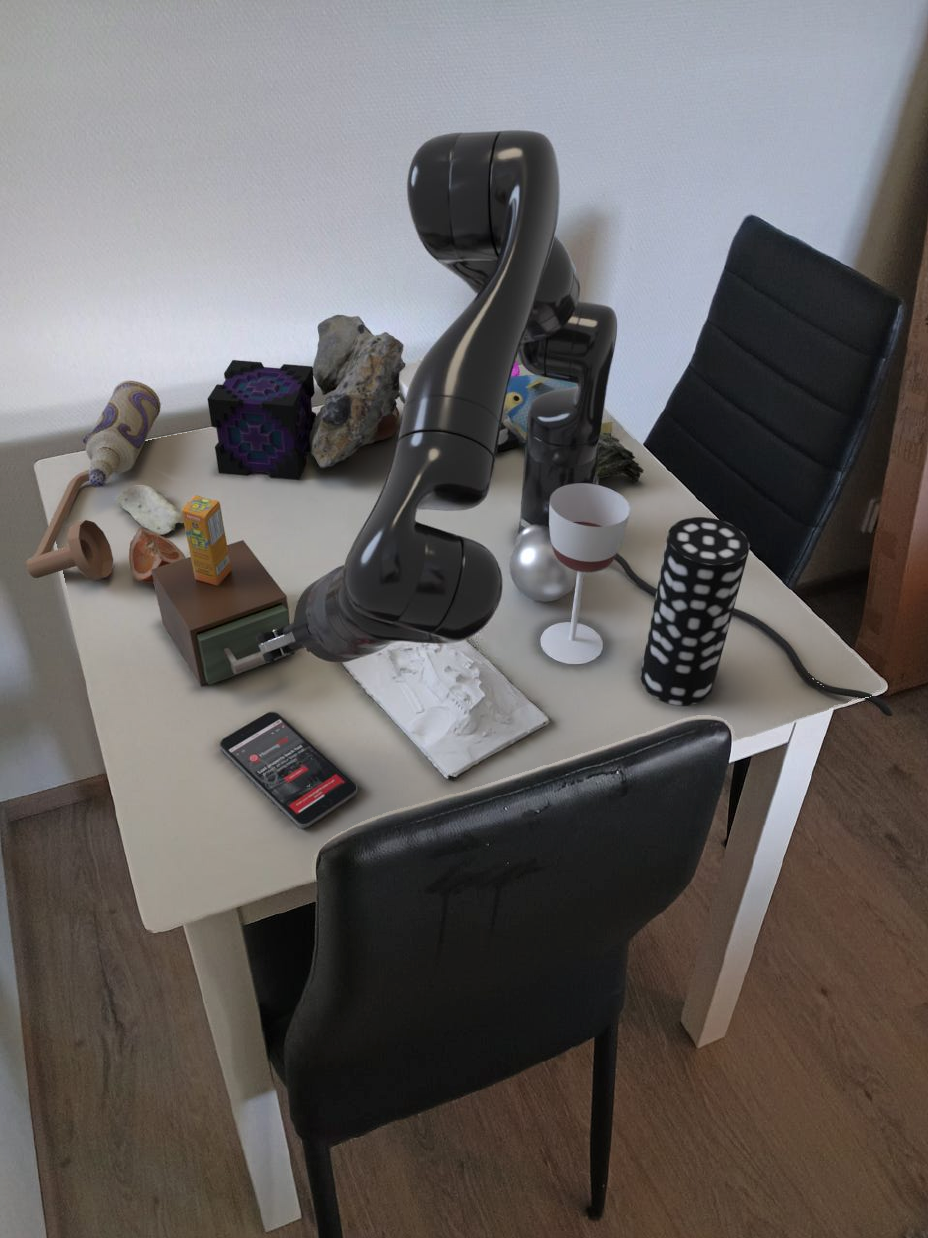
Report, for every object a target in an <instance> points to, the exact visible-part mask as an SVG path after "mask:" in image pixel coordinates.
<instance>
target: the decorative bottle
mask: <svg viewBox="0 0 928 1238" xmlns="http://www.w3.org/2000/svg"><path fill="white" fill-rule="evenodd" d="M161 405H162V403H161V401H160V398H159V395H158V394H157V393H156V391H155V390H153V388H151V387H150V386H149V385H147V384H145V383H143V382H140V381H136V380H124V381H121V382H119V384H117V385H116V386H115V388H114V389H113V392H112V395H111V397H110V398H109V400H108V402H107V403H106V406H105V408H104V409H103V411H102V412H101V415H99V417H98V419H97V421H96V422H95V424H94V425H93V427H92V429H91V431H90V433H88V434H86V435H85V438H82V442H83V444H85V452H86V455H87V457H88V459H89V460H90V468H89V469H88V470H89V481H88V482H89V484H90V486H93V487H96V488H98V487H104V485H106V482H107V481H109V479H110V477H111V476H112V475H113V474H122V473H126V472H128V471H130V469H131V470H132V468H133V467H134V465H135V464H136V461H137V459H138V456H139V455H140V453H141V450H142V448H143V446H144V444H145V442H146V440H147V439H148V438H149V437H148V436H149V433H150V431H151V430H152V427H153V425H154V422H155V421H156V419H157V418H158V417H159V415H160V413H161V408H162V407H161Z"/></svg>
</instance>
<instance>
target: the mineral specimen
mask: <svg viewBox="0 0 928 1238" xmlns="http://www.w3.org/2000/svg"><path fill="white" fill-rule="evenodd" d="M635 458H636V456H635V455H634V452H632V451H631V450H629V449H627V448H625V446H624V445H623V444H622V443H621V442H620V439H619V438H617V437H615V436H612V433H601V434H600V441H599V449H598V457H597V465H596V473H595V476H597V477H598V478H599V479H604V478H608V477H612V476H614V475H618V474H623V475H624V476H625V477H627V479H630V480H631V481H632V482H633V483H638V482H639V479H640V478H641V475H642V474H643V473H644V469H643V468H642V467H641V466H639V463H638V462H637V461H635V460H634V459H635Z"/></svg>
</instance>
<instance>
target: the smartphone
mask: <svg viewBox="0 0 928 1238" xmlns="http://www.w3.org/2000/svg"><path fill="white" fill-rule="evenodd" d="M219 749H220V750H221V752H223V753H224V754H225V755H226V756H227V757H228V758H229V760H231V761H232V762H233V763H234V764H235V765H236V766H237V767H238V768H239V769H240V770H241V771H242V772H243V773H244V774H246V776H247V777H248V778H249V779H250V780H251V781H252V782H253V783H254V784H255V785H256V786H257V787H258V788H259V789H260V790H261V791H262V792H263V793H264V794H265V795H266V796H267V797H268V798H270V800H271V801H272V802H274V804H275V805H276V806H277V807H278V808H279V809H281V811H283V812H284V813H285V815H286V816H288V817H289V818H290V819H291V820H292V822H294V823H295V824H296V825H297V826H298V827H299V828H303V829H305V828H309V827H310V826H311V825H313V824H315V823H316V822H318V821H319V820H321V819H322V818H323V817H325V816H326V815H327V814H329V813H331V812H332V811H334V810H335V809H337V808H338V807H340V806H341V805H343V804H344V803H346V802H347V801H349V800H350V799H351V798H353V797H354V796H355V795H356V794H358V785H357V784H356V782H355V781H353V780H352V779H351V778H350V777H349V776H348V775H347V774H346V773H345V772H344V771H342V769H340V768H339V767H338V766H337V765H336V764H335V763H333V762H332V761H331V760H330V759H329V758H328V757H327V756H326V755H325V754H324V753H323V752H322V751H320V750H319V749H318V748H317V747H316V746H315V745H314V744H312V743H311V741H309V739H307V738H306V737H305V736H304V735H303V734H301V732H299V731H298V730H297V729H296V728H295V727H294V726H293V725H292V724H291V723H289V722H288V721H287V720H286V719H285V718H284V717H283V716H282V715H280V714H279V712H277V711H273V710H271V711H268V712H266V713H264V714H263V715H261V716H259V717H257V718H256V719H254V720H252V721H250V722H249V723H247V724H246V725H244V726H243V727H241V728H239V729H237V730H236V731H234V732H233V733H231V734H228V735H227V736H225V737H224V738H222V739H221V740H220V741H219Z"/></svg>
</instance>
